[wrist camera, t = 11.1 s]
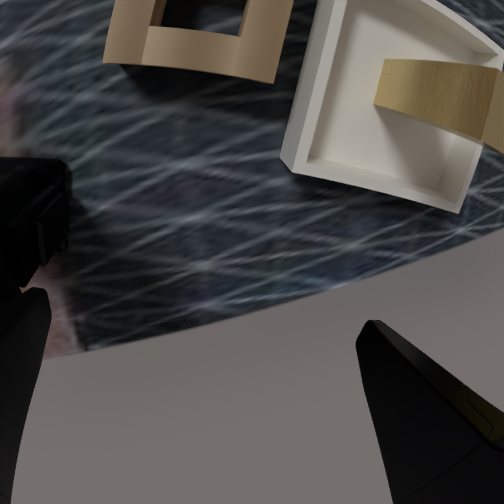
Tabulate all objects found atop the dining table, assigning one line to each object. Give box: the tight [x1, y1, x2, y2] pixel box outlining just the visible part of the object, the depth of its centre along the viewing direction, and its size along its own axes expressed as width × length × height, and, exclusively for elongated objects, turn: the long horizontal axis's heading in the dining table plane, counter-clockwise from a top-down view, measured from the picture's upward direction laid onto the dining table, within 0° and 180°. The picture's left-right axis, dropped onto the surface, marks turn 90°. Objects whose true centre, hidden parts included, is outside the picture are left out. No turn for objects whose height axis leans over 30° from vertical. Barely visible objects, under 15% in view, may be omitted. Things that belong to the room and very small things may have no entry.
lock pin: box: [373, 59, 504, 156], centre depth 12 cm, size 3×3×9 cm
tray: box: [280, 0, 504, 214], centre depth 15 cm, size 12×12×3 cm
